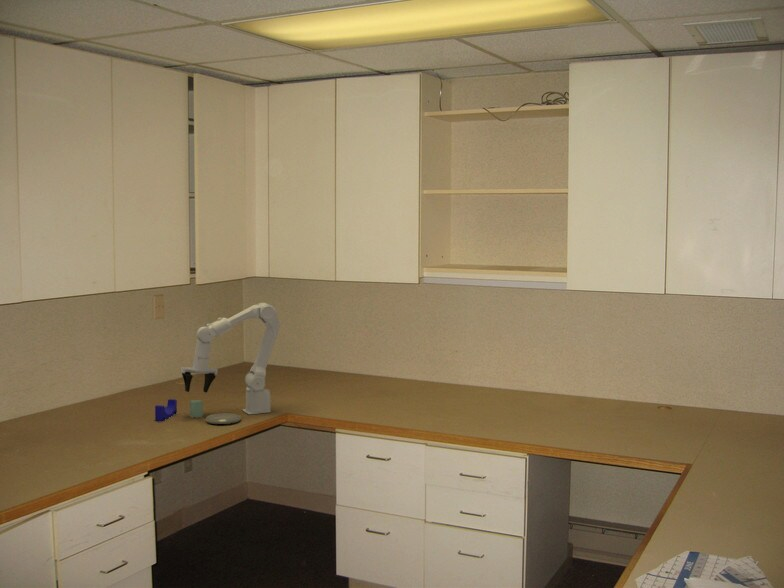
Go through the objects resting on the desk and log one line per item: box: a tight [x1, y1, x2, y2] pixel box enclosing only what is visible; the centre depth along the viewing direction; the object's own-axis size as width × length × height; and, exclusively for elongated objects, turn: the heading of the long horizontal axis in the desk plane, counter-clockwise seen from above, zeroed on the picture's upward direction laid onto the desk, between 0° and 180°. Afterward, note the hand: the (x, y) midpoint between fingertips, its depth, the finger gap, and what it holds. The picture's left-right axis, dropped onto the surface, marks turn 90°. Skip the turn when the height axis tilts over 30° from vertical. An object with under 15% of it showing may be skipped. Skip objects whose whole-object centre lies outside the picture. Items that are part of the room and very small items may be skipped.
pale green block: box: [189, 399, 204, 418], centre depth 313 cm, size 4×4×6 cm
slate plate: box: [205, 412, 241, 425], centre depth 306 cm, size 13×13×2 cm
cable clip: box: [154, 398, 178, 422], centre depth 311 cm, size 12×4×6 cm, turn 169°
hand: (196, 391), depth 312 cm, fingers open, 7 cm apart
